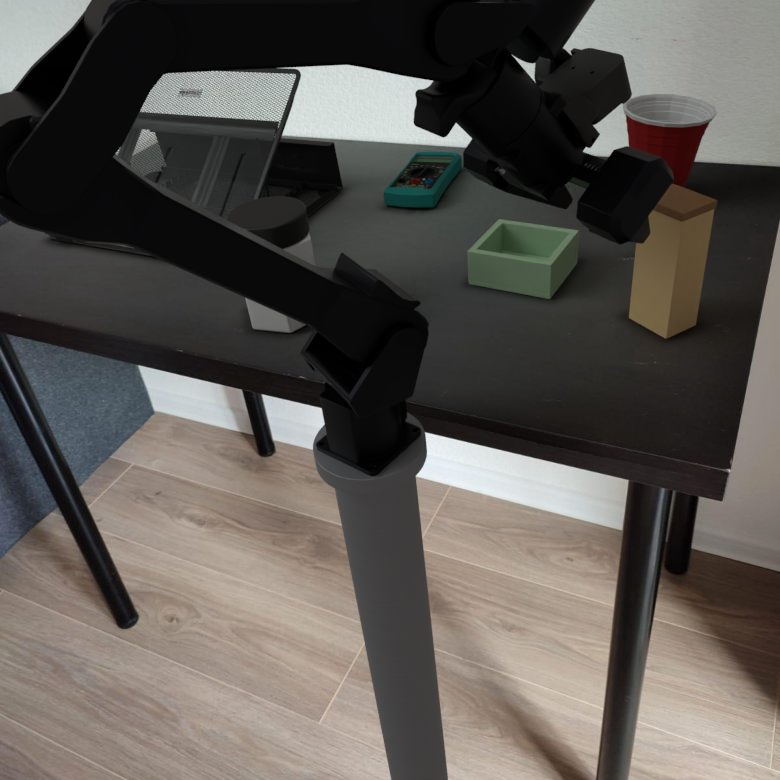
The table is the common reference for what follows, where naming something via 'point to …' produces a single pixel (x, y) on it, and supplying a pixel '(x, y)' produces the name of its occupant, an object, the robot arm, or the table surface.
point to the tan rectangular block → (672, 262)
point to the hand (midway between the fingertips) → (605, 220)
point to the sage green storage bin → (523, 258)
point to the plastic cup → (668, 129)
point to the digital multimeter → (423, 180)
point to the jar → (283, 229)
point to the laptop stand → (230, 150)
